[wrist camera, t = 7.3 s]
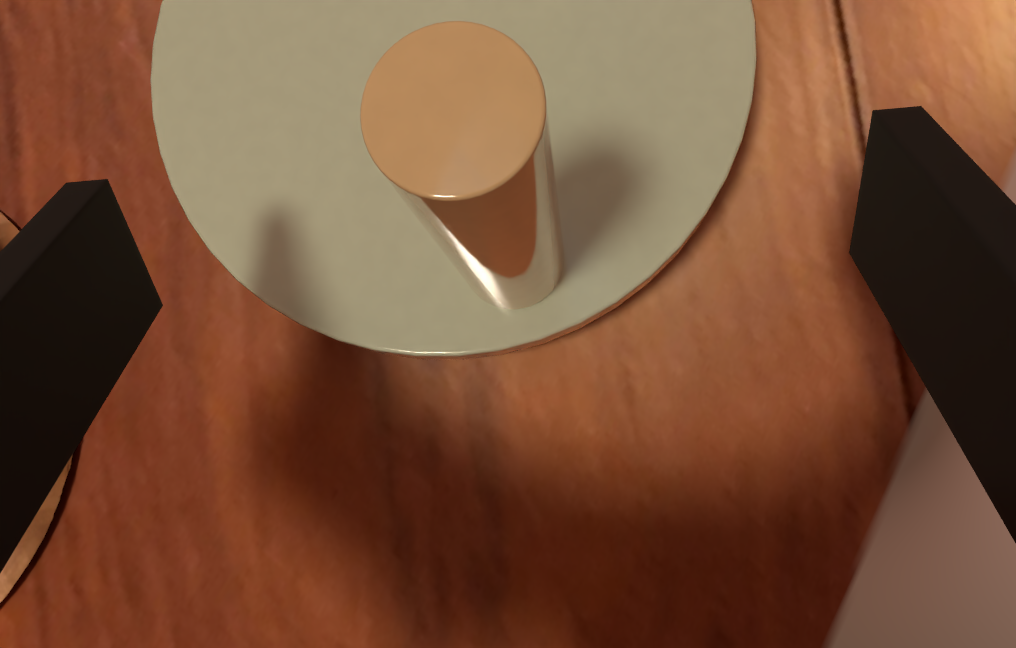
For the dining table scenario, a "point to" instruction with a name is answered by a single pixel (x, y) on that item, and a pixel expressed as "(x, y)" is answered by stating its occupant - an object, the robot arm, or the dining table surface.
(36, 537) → the cake on gold board
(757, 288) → the dining table surface
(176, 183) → the turntable plate
